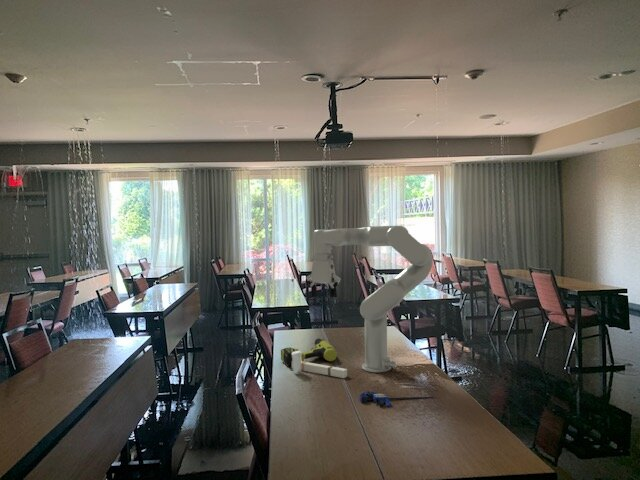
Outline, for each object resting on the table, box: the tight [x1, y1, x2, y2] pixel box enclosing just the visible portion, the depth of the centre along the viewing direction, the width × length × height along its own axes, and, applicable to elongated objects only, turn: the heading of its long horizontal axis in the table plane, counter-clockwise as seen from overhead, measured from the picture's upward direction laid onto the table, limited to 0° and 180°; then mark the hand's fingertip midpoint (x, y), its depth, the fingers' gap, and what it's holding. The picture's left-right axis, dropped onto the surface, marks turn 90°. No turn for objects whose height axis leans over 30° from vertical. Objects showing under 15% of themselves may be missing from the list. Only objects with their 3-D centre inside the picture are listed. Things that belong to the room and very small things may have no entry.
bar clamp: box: [359, 390, 434, 408], centre depth 153 cm, size 32×2×10 cm
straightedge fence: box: [291, 360, 348, 379], centre depth 185 cm, size 26×3×3 cm, turn 58°
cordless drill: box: [280, 338, 338, 368], centre depth 207 cm, size 7×25×25 cm
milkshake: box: [290, 347, 303, 375], centre depth 185 cm, size 4×5×10 cm
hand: (323, 296), depth 194 cm, fingers open, 9 cm apart
